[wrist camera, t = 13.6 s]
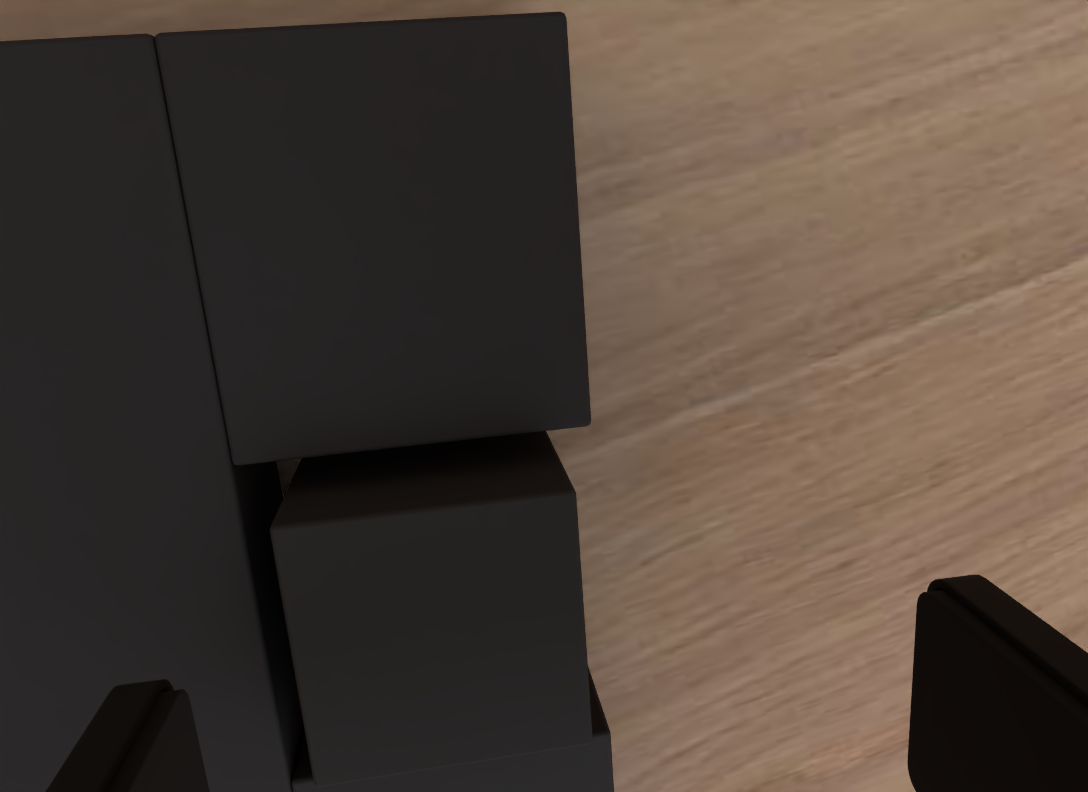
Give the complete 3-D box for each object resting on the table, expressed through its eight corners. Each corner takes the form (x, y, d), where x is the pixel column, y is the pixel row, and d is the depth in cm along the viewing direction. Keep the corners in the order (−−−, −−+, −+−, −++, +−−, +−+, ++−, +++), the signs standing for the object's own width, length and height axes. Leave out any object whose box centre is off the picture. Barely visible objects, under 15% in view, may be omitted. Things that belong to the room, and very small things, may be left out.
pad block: (306, 442, 15) (267, 527, 12) (540, 416, 16) (576, 489, 12) (339, 651, 17) (314, 790, 13) (556, 620, 17) (594, 745, 13)
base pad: (-643, 113, 12) (-972, 92, 9) (538, 45, 14) (566, 10, 11) (-251, 1025, 17) (-391, 1197, 14) (597, 874, 19) (627, 997, 16)
